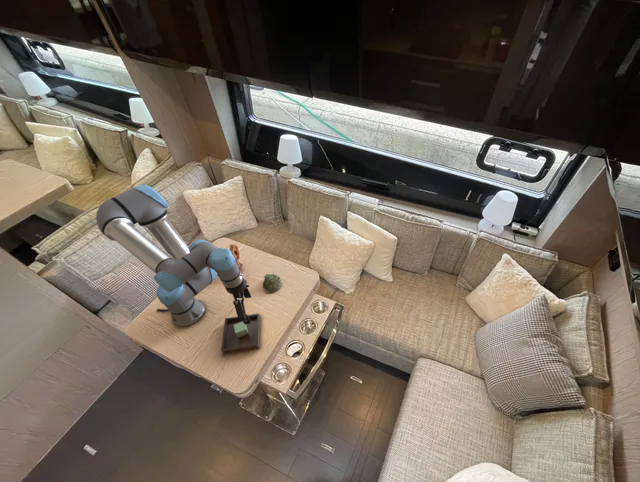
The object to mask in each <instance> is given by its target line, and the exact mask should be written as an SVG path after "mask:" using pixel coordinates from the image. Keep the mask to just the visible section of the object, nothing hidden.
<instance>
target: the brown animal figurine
mask: <svg viewBox="0 0 640 482" xmlns="http://www.w3.org/2000/svg"><path fill="white" fill-rule="evenodd" d="M229 250H230V251H231V253H232V254H233V256H234V258H235V261H236V263H237V265H238V268H239V270H240V272H241V273H242V269H243V263H241V262H240V261H239V259H240V249H239V248H238V246H237V244H233V243H232V244H230V245H229Z"/></svg>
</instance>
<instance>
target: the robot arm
mask: <svg viewBox="0 0 640 482" xmlns="http://www.w3.org/2000/svg"><path fill="white" fill-rule="evenodd" d="M167 208H168V203H167V201H166V200H165V199H164V198H163V196H162V195H161V194H160V193H159V192H157V191H156V189H154V188H153V187H152V186H149V185H147V184H139V185H137V186H133V187H131V188H129V189H127V190H125V191H124V192H121V193H119V194H117V195H115V196H113V197H110V198H108V199H105V200H104V201H103V202H102V203H101V204H100V205H99V206H98V208H97V211H96V216H95V220H96V225H97V228H98V229H99V231H100V232H101V234H102V235H103V236H105V238H107V239H108V240H110V241H114V242H117V243H118V244H119V245H120V246H121V247H123V248H124V249H125V250H127V251H128V253H130V254H132V255H133V256H134V257H135V258H136V259H137V260H139V261H140V262H141V263H142V264H144V265H145V266H146V267H147V268H148V269H150V271H152V272H153V273H155V275H154V276H153V280H154V282H156V283H157V284H158V287H157V289H156V297H157V299H158V301H159V302H160V303H161V304H162V305H164V307H165V308H166V309H161V308H156V311H157V312H159V311H160V312H170V315H171V316H170V317H171V320H172V322H173V323H174V324H175V325H176V326H179V327H189V326H193V325H194V324H196V323H198V322H199V321H200V320H201V319H202V318H203V316H204V315H205V312H206V307H205V305H204V303H203V302H202V301H201V300H199V299H196V298H195V297H196V296H197V295H199V294H200V293H201V292H202V291H204V290H205V289H206V288H208V287H209V286H210V285H212V284H213V283H214V282H215V281H216V280H217V278H219V280H220V281H221V284H222V285H223V286H224V289H225V290H226V292H227V293H228V294H229V295H232V297H233V299H234V300H233V301H232V303H233V306H234V308H235V312H236V315H237V316H236V317H238V319H239V322H240V321H243V323H244V324H250V323H251V321H250V319H249V317H248V315H249V314H248V313H246V307H245V303H244V302H245V299H251V298H252V294H251V292H250V291H249V288H250V284H247V283H248V281H247V279H245V278H244V277H243V276H244V274H243V273H242V271H241V272H240V270H239V268H238V265H237V263H236V261H235V258H234V256H233V254H232V253H231V251H230V248H229V249H228V248H225V247H224V248H223V247H217V246H216V245H214V244H213V243H211V242H210V241H207V240H205V239H201V238H200V239H196V240H194V241H193V242H191V245H188V244H187V243H186V241H185V240H184V238H183V237H182V236H181V235H180V233H179V231H177V229H176V228H175V226H174V225H173V224H172V223H171V221H170V220H169V218H168V215H169V214H168V213H169V212H168V211H167ZM136 224H138V225H139V227H143V228H146V229H147V230H148V231H149V232H150V234H152V236H153V237H154V238H155V240H156V241H157V242H158V243H159V245H161V247H162V248H161V247H160V246H159V245H158V244H156V243H155V242H154V241H153V240H151V238H149V237H147V235H145V234H144V233H143V232H141V231H140V230H139V229H138V228H136V227H135V225H136Z"/></svg>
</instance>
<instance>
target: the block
mask: <svg viewBox="0 0 640 482" xmlns="http://www.w3.org/2000/svg"><path fill="white" fill-rule="evenodd" d="M234 329H235V334H236V335H237V337H238V338H240V337H242V336H245V335H247V334H249V333H248V329H247V326H246V324H244V323H243V322H240V323H237V324H234Z"/></svg>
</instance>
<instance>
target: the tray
mask: <svg viewBox="0 0 640 482" xmlns="http://www.w3.org/2000/svg"><path fill="white" fill-rule="evenodd" d="M247 315H248V317H249V319H250V321H251V323H250V324H246V326H247V329H248V333H249V334H247V335H245V336H242V337H240V338H238V337H237V335H236V334H235V329H234V324H237V323H240V322H243V321H240V322H239V319H238V316H231V317H226V318H224V325H223V331H222V339H221V349H220V352H221V353H222V354H223V355H225V354H231V353H237V352H238V353H239V352H244V351H251V350H256V349H260V346H261V345H260V343H261V315H260V313H253V314H252V313H251V314H247Z"/></svg>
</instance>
